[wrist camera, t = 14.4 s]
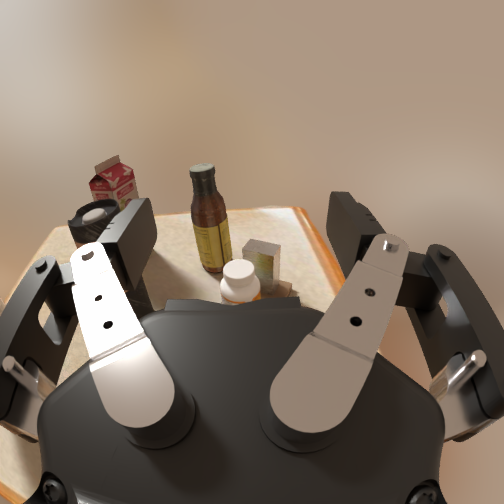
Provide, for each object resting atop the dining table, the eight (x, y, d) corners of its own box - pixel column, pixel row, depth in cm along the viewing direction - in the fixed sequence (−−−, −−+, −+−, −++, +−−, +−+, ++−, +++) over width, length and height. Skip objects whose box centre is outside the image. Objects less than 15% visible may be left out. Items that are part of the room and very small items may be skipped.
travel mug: (164, 318, 42) (127, 207, 30) (126, 343, 37) (72, 234, 25) (142, 295, 46) (108, 193, 34) (108, 316, 42) (62, 215, 30)
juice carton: (113, 259, 55) (84, 167, 42) (130, 243, 60) (107, 155, 47) (134, 265, 53) (106, 165, 40) (151, 247, 58) (129, 153, 45)
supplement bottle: (251, 300, 43) (249, 251, 37) (267, 324, 39) (267, 274, 33) (219, 311, 41) (211, 262, 35) (233, 337, 37) (226, 287, 31)
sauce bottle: (223, 251, 56) (214, 157, 45) (239, 266, 52) (231, 165, 40) (195, 262, 53) (178, 166, 42) (208, 279, 49) (192, 175, 37)
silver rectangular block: (272, 295, 44) (273, 256, 39) (244, 288, 45) (242, 249, 41) (279, 284, 46) (280, 245, 41) (252, 277, 48) (250, 238, 43)
